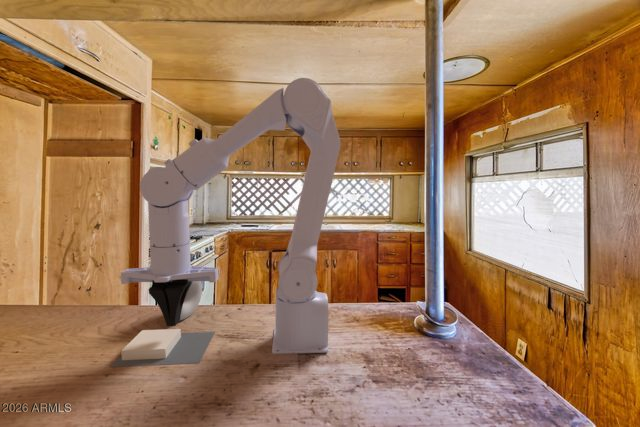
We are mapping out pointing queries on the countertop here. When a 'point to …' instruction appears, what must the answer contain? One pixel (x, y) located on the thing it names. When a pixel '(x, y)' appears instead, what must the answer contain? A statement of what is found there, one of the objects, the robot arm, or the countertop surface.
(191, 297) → the donut
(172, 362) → the mat
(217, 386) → the countertop surface
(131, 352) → the tile
